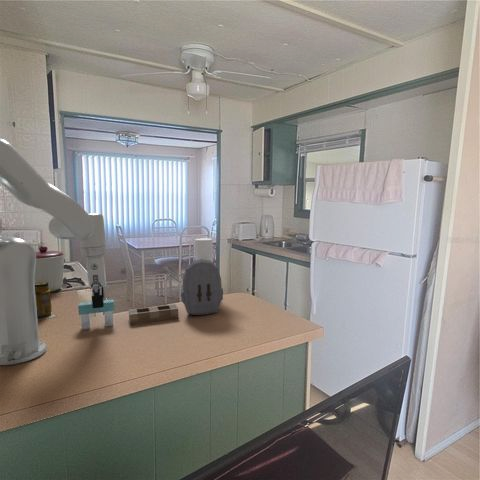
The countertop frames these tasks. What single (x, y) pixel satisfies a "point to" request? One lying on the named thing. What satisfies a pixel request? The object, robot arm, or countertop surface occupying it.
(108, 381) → the countertop surface
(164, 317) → the tan slotted block
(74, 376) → the countertop surface
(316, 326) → the countertop surface
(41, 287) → the condiment
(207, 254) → the cylindrical container
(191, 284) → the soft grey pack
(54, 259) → the canister
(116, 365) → the countertop surface
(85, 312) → the teal and white bridge
